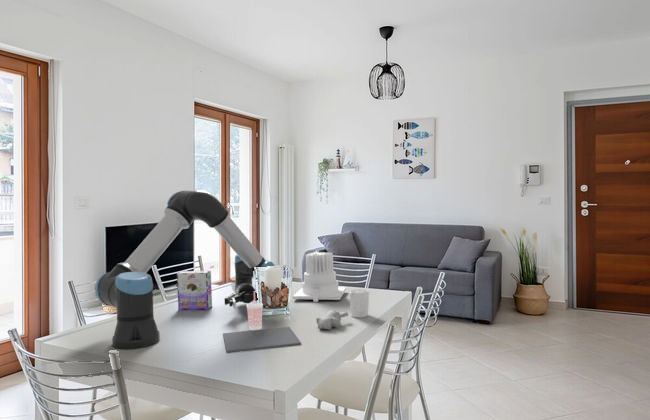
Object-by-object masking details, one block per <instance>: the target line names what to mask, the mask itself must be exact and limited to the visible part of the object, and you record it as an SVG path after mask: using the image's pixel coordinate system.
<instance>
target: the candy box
mask: <svg viewBox="0 0 650 420" xmlns="http://www.w3.org/2000/svg"><path fill="white" fill-rule="evenodd" d="M176 280H177V281H176V283H177V303H178V304H177V306H178V308H177V309H178V311H188V310H189V311H191V310H193V311H194V310H195V311H198V310H199V311H200V310H203V311H204V310H205V311H206V310H210V309H211V308H212V307H213V295H212V289H213V287H212V271H211V270H189V271H186V270H184V271H179V272H177V273H176Z"/></svg>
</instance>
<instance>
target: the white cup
mask: <svg viewBox="0 0 650 420" xmlns="http://www.w3.org/2000/svg"><path fill="white" fill-rule="evenodd" d="M369 300H370V291H369V290H368V289H365V288H355V289H350V290H349V304H350V305H349V306H350V315H351V317H352V318H360V319H361V318H367V317H368V316H369V305H370V304H369V303H370V302H369Z"/></svg>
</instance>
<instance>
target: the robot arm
mask: <svg viewBox="0 0 650 420" xmlns="http://www.w3.org/2000/svg"><path fill="white" fill-rule="evenodd" d="M229 212H230V211H228V209H227V208H226V207H225V206H224V204H222V202H220V200H219V199H218V198H216V197H215V195H213V194H212V193H210V192H208V191H206V190H202V189H201V190H200V189H196V190H180V191H177V192H175V193H173V194H172V195H171V196H170V197H169V198H168V200H167V204H166V208H165V209H164V212H163V213H164V215H163V217H162V218H161V220H159V222H158V223H157V224H156V225H155V226H154V228H153V229H152V230H151V231H150V232H149V233H148V235H146V237H145V238H144V239H143V240H142V242H141V243H140V244H139V245H138V246H137V248H136V249H134V251H133V252H132V253H131V254H130V255H129V256H128V258H127V259H126V260H125V261H124V262H120V263H119V262H118V263H117V264H116V265H115V266H114V267H113V268H112V270H111V271H109V272H108V271H107V272H106V273H104V274H102V275H100V276H99V277H98V278H97V280H96V282H95V285H94V292H95V296H96V298H97V299H98V300H99V301H100V302H101V303H102V304H104V305H105V306H108V307H113V308H116V326H115V329H114V333H113V336H112V339H111V341H112V342H111V344H112V347H113V348H116V349H123V350H129V349H131V348H132V349H139V348H144V347H149V346H152V345H154V344H156V343H158V342H159V341H160V340H161V339H160V338H161V335H160V331H159V330H158V326H157V323H156V320H155V318H154V317H155V315H154V289H153V288H154V283H153V279H152V278H153V277H152V276H151V275H150V274H148V272H149V270H150V269H151V268H152V266H153V265H154V264H155V263H156V261H157V260H158V259H159V258H160V256H162V254H163V253H164V252H165V251H166V250H167V248H169V246H170V244H171V243H172V242H173V241H174V240H175V239H176V237H177V236H178V235H179V234H180V233H181V231H182V230H185V229H189V228H190V227H191V225H192V224H193V223H194V222H195V221H196V220H199V221H201V222H204V223H205V224H206V225H207V226H208V228H210V229H214V230H215V231H216V232H217V234H219V236H220V237H221V238H222V239H223V240H224V241H225V242H226V244H228V246H229V247H230V248H231V249H232V250H233V252H234V253H235V254H236V255H235V256H234V273H235V275H234V276H235V277H234V278H235V291H236V293H237V295H236V293H235V292H232V293H231V294H230V295H228V296H226V297H224V305H225V306H228V305H229V307H232V308H233V309H237V306H236V304H237V303H244V304H250V303H253V302H254V291H256V289H255V288H254V286H253V278H254V277H253V271H254V267H267V266H275V267H276V265H275V264H274V262H272V261H270V260H266V258H265V257H263V256H262V254H261V253H260V252H259V251H258V250H257V248H256V247H255V245H254V244H253V243H252V242H251V241H250V239H248V237H247V236H246V235H245V234H244V232H242V230H241V229H240V228H239V226H238V225H237V224H236V223H235V221H234V220H233V219H232V218H231V217H230V213H229ZM256 292H257V291H256ZM256 292H255V302H256V301H257V302H258V301H259V300H258V298H257V293H256ZM266 300H267V301H266V303H267V305H268V306H272V302H273V301H272V297H269V296H268V295H266Z"/></svg>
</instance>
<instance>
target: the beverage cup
mask: <svg viewBox="0 0 650 420" xmlns="http://www.w3.org/2000/svg"><path fill="white" fill-rule="evenodd" d="M255 291H256V290H255ZM255 291H254V300H253V302H250V303H246V309H247V321H248V329H249V330H248V331H250V330H260V329H263V327H262V326H263V325H262V324H263V307H264V303H262V302H256V301H255V299H256V298H255Z"/></svg>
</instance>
